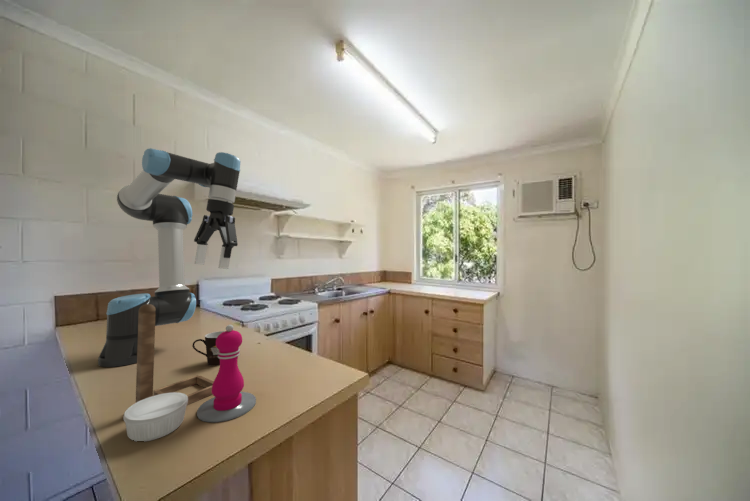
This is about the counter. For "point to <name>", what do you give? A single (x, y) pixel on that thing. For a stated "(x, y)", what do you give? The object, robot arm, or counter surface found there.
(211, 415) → the slate coaster
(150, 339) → the wooden stand
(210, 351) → the coffee mug
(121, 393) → the counter surface
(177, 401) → the ramekin
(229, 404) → the pepper mill
